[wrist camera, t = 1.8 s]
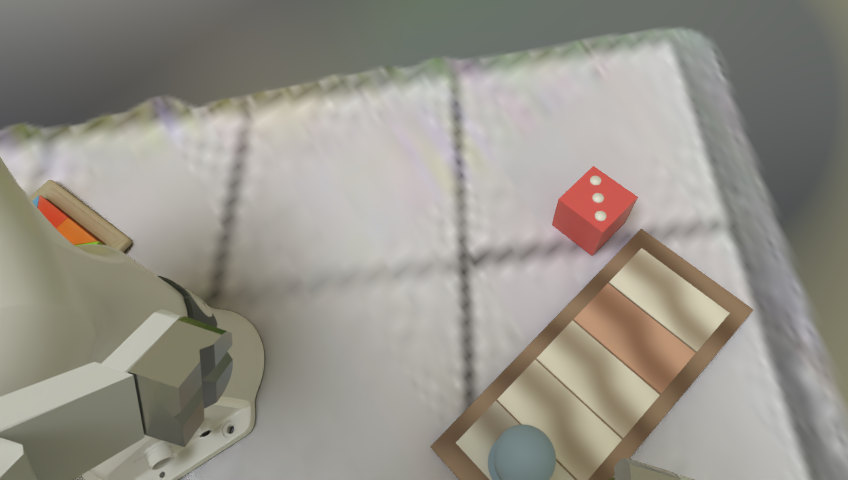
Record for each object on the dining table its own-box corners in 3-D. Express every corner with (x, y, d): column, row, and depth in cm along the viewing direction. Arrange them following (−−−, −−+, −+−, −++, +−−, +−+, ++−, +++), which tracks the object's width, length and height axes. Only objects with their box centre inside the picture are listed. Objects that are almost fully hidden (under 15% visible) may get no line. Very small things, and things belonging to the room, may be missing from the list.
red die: (592, 256, 61) (603, 231, 55) (552, 224, 63) (558, 198, 58) (624, 223, 62) (638, 196, 57) (584, 193, 64) (593, 165, 59)
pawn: (519, 510, 49) (530, 513, 37) (476, 463, 51) (474, 453, 40) (558, 465, 50) (580, 455, 39) (514, 421, 52) (524, 399, 41)
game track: (536, 565, 48) (537, 567, 47) (431, 448, 53) (430, 446, 52) (748, 313, 56) (754, 309, 55) (638, 233, 61) (641, 227, 60)
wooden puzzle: (32, 356, 63) (9, 348, 60) (-49, 278, 69) (-74, 267, 66) (139, 245, 68) (123, 233, 65) (55, 182, 74) (36, 168, 71)
